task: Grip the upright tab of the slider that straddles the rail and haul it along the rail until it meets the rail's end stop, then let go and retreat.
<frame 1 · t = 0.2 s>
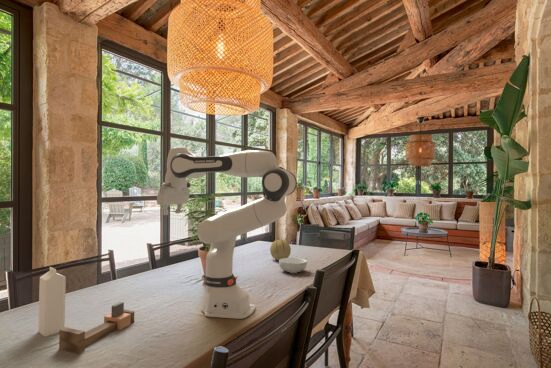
hand: (171, 214, 141), 39 cm above the table, tool pointing down, fingers open, 8 cm apart
slider: (117, 314, 116), point 4 cm above the table, slide at 0.0 cm
rail: (101, 334, 109), on the table
milk: (51, 331, 111), on the table
cantaloupe: (280, 260, 224), on the table
cereal bowl: (292, 272, 194), on the table
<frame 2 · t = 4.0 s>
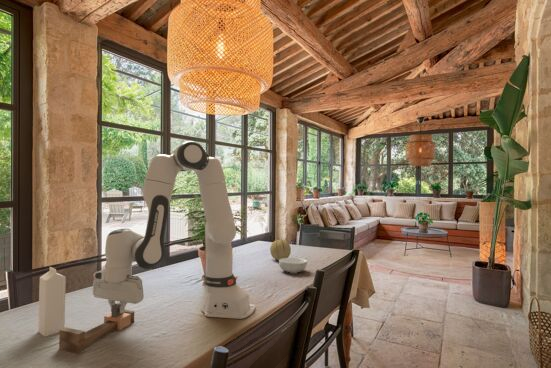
hand: (117, 312, 116), 5 cm above the table, tool pointing down, fingers closed on slider, 2 cm apart
slider: (117, 314, 116), point 4 cm above the table, slide at 0.0 cm, touching gripper
everything else where it was.
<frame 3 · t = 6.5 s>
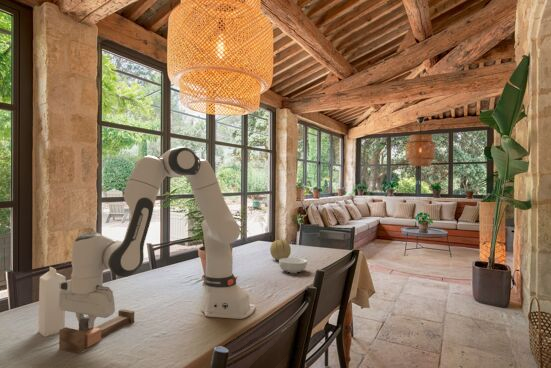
hand: (86, 326, 103), 5 cm above the table, tool pointing down, fingers closed on slider, 2 cm apart
slider: (86, 329, 103), point 4 cm above the table, slide at 13.0 cm, touching gripper
everything else where it was.
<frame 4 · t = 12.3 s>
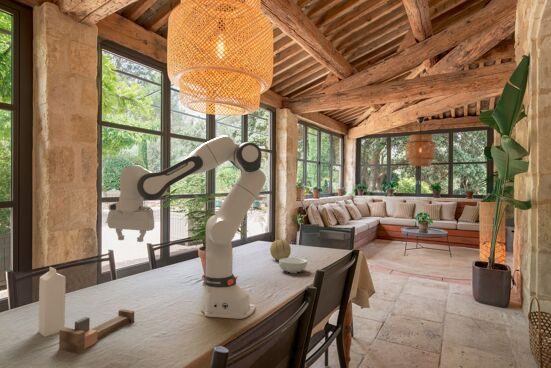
hand: (130, 240, 127), 29 cm above the table, tool pointing down, fingers open, 8 cm apart
slider: (82, 331, 102), point 4 cm above the table, slide at 14.5 cm, touching rail
everything else where it was.
at the end: slider slide at 14.5 cm; the gripper is holding nothing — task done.
